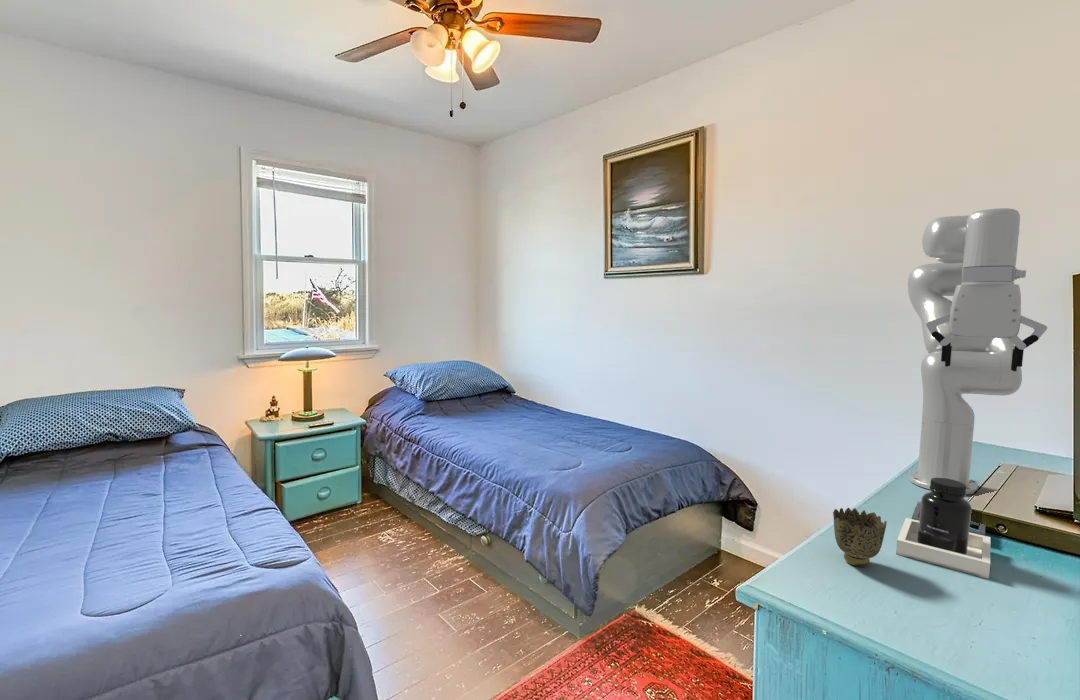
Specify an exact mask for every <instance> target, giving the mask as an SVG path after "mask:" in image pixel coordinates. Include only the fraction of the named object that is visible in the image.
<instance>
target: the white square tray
mask: <svg viewBox="0 0 1080 700" xmlns="http://www.w3.org/2000/svg"><path fill="white" fill-rule="evenodd" d="M918 528H919V521H918V520H913V519H912V518H909V517H905V519H904V522H903V524H902V527H901V529H900V532H899V534H898V537H897V539H896V548H895V549H896V550H895V555H898V556H902V557H905V558H910V559H912V560H917V561H920V562H924V563H929V564H931V565H936V566H940V567H943V568H945V569H946V568H947V569H949V570H954V571H957V572H960V573H966V574H969V575H973V576H977V577H980V578H983V579H987V580H989V579H990V571H991V570H990V569H991V540H992V539H991V536H987V535H985V536H983V535H979V534H974V533H970V532H969V539H968V548H967V553H966V555H964V554H960V553H956V552H952V551H948V550H944V549H940V548H936V547H932V546H928V545H924V544H920V543H918V541H917V539H918Z"/></svg>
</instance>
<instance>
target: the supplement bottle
mask: <svg viewBox="0 0 1080 700" xmlns="http://www.w3.org/2000/svg"><path fill="white" fill-rule="evenodd" d="M928 490H929V491H928V492H926V493H924V494H923V495H922V496H921V501H920V502H921V509H920V518H919V528H918V539H917V541H918V543H920V544H924V545H928V546H932V547H936V548H940V549H944V550H948V551H952V552H956V553H960V554H964V555H966V553H967V548H968V539H969V530H971V529H970V528H971V524H970V522H971V513H973V512H972V511H973V510H972V508H973V507H972V504H971V503H970V502H969V501H968V500H967V499H966V496H967V494H966V485H965V484H964V483H962V482H959V481H956V480H952V479H947V478H932V479H931V483H930V488H929V489H928Z"/></svg>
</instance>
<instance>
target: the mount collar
mask: <svg viewBox="0 0 1080 700" xmlns="http://www.w3.org/2000/svg"><path fill="white" fill-rule="evenodd" d="M920 509H921V501H917V502H916V506H915V507H914V511H913V513H912V516H911V519H913V520H918V521H919V518H920ZM970 525H972V526H973V525H974V526H978V530H973V529H970V530H969V532H970V533H974V534H979V535H983V536H986V524H985V525H984V524H981V523H980V525H979V523H976V522H973V521H971V522H970Z"/></svg>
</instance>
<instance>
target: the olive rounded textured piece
mask: <svg viewBox="0 0 1080 700" xmlns="http://www.w3.org/2000/svg"><path fill="white" fill-rule="evenodd" d="M832 515H833V530H834V531H833V532H834V537H835V542H836V544H837V547H838V548H839V549H840V550H841V551H842V552H843V558H844V561H845V562H846V563H848V564H850V565H852V566H854V567H858V568H860V567H861V568H864V567H867V566H869V565H870V563H871V560H870V559H872V558H874V557H876V556H877V555H878V554H879V552H880V550H881V548H882V545H883V542H884V539H885V538H884V537H885V533H886V528H887V523H888V521H887V520H884V521H883V522H882V519H881V518H882V517H881V515H877V514H876V513H875V512H873V511H872V512H870V513H869V512H868V513H867V512H866V510H865V509H863V510H862V511H861V513H860V512H859V511H858V509H856V508H855V507H854V508H852V509H851V508H850V507H846V509H845V510H844V508H842V507H841V508H839V510H838V509H837V508H834V510H833V511H832Z"/></svg>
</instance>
